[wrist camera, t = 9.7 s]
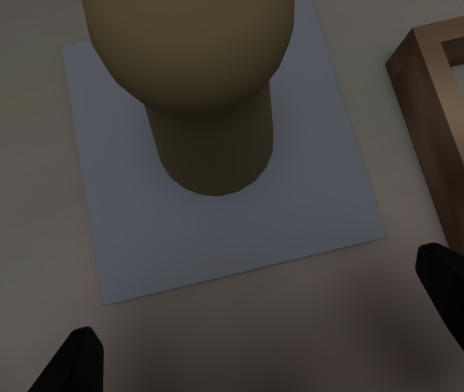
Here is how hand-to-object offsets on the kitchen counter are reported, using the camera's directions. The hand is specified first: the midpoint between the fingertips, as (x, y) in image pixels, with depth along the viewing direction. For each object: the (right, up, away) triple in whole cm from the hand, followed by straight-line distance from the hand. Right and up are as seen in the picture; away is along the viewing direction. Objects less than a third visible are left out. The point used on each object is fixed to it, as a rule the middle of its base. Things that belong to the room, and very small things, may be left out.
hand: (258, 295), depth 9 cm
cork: (-2, +6, +9) cm, 11 cm away
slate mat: (-2, +6, +9) cm, 11 cm away
